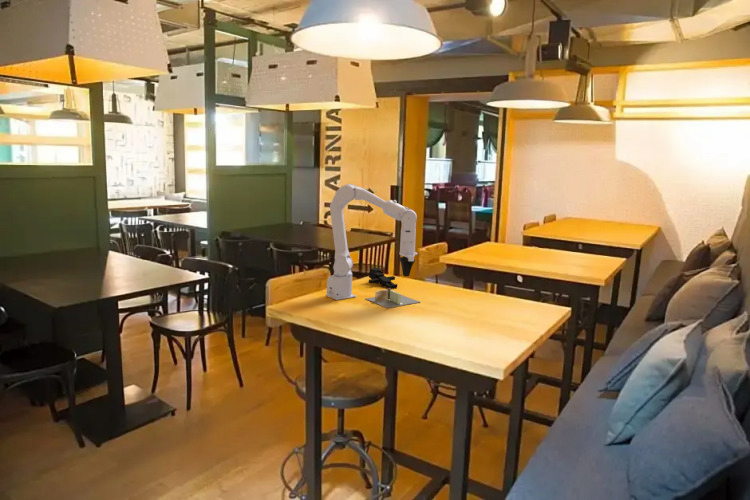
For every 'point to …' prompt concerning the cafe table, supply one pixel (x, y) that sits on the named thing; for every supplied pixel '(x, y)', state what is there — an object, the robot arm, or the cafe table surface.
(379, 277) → the toy
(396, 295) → the fence panel
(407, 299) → the card
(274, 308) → the cafe table surface
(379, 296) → the block
